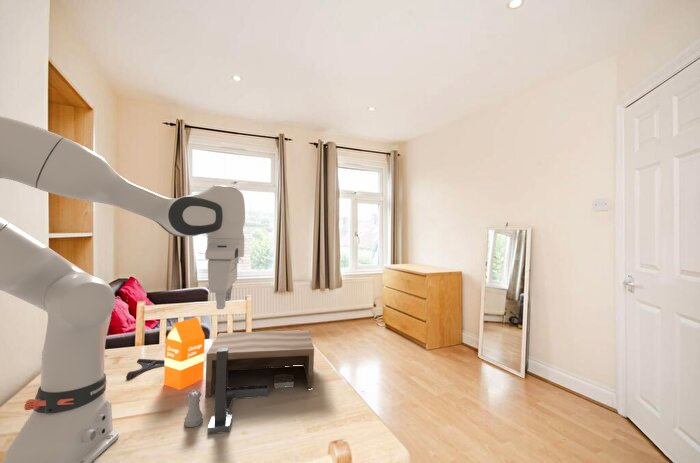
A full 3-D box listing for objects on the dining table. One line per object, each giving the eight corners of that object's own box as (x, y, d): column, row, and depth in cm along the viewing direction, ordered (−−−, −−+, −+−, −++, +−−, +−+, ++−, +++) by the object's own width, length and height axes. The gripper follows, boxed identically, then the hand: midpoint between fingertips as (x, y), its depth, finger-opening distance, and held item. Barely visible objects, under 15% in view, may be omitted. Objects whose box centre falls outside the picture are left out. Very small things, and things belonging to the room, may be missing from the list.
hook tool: (264, 428, 82) (266, 351, 82) (207, 434, 79) (210, 353, 79) (267, 393, 100) (269, 329, 100) (221, 396, 97) (223, 331, 97)
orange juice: (163, 384, 103) (165, 321, 104) (187, 373, 111) (189, 315, 112) (180, 389, 100) (182, 325, 100) (203, 378, 108) (205, 318, 108)
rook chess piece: (184, 419, 84) (186, 389, 85) (203, 416, 86) (204, 386, 86) (182, 429, 80) (183, 397, 80) (202, 426, 82) (203, 394, 82)
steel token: (293, 388, 104) (293, 381, 104) (274, 389, 103) (274, 383, 103) (292, 379, 110) (292, 373, 110) (274, 381, 109) (274, 375, 109)
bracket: (107, 380, 106) (107, 371, 106) (140, 362, 121) (140, 355, 121) (148, 383, 105) (148, 375, 105) (176, 365, 120) (177, 357, 120)
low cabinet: (312, 389, 103) (314, 348, 103) (205, 397, 96) (206, 353, 96) (307, 364, 122) (308, 330, 122) (218, 369, 115) (219, 333, 116)
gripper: (220, 247, 92) (218, 296, 92) (203, 252, 72) (201, 314, 72) (243, 248, 93) (241, 296, 93) (233, 252, 73) (231, 313, 73)
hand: (224, 304), depth 82 cm, fingers open, 8 cm apart
